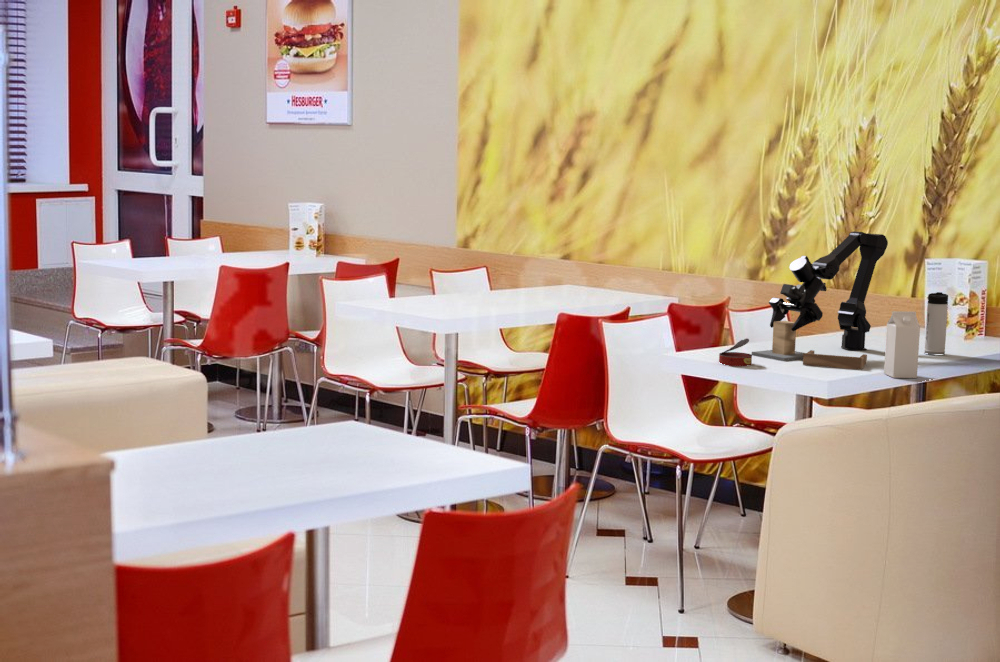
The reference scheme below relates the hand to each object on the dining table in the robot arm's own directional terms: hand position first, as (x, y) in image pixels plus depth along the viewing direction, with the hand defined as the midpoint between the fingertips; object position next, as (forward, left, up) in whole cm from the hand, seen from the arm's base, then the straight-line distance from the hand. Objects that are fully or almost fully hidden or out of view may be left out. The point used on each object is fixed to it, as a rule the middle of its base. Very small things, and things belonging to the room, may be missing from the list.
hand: (781, 328), depth 405 cm
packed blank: (-1, -1, -8) cm, 8 cm away
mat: (-1, -1, -9) cm, 9 cm away
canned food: (+19, +13, -9) cm, 25 cm away
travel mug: (-54, -4, -9) cm, 55 cm away
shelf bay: (-12, +16, -9) cm, 22 cm away
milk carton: (-23, +37, -9) cm, 44 cm away
